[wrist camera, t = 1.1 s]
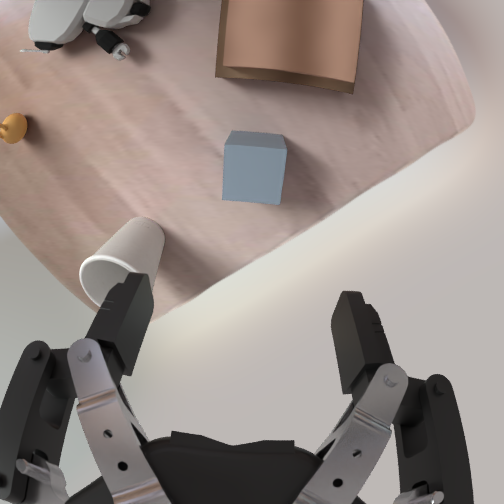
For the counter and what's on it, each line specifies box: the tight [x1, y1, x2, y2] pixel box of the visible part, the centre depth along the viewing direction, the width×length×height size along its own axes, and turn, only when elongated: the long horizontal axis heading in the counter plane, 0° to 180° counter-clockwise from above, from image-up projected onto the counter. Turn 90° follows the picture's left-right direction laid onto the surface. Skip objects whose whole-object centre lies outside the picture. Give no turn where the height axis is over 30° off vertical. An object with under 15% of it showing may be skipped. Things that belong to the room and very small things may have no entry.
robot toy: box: [20, 0, 151, 60], centre depth 15 cm, size 12×4×15 cm
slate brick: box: [222, 131, 287, 205], centre depth 25 cm, size 5×5×6 cm
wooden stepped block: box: [215, 0, 363, 94], centre depth 17 cm, size 12×12×6 cm
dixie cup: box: [80, 217, 165, 307], centre depth 30 cm, size 8×8×10 cm
